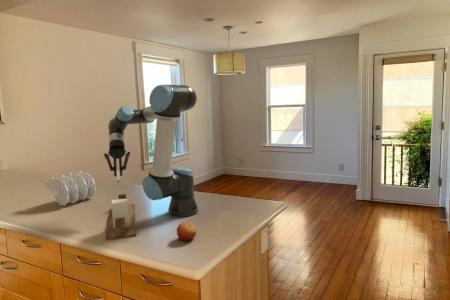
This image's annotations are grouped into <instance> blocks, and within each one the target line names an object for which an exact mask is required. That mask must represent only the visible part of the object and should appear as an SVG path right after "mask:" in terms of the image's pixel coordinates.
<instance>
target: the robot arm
mask: <svg viewBox="0 0 450 300" xmlns="http://www.w3.org/2000/svg"><path fill="white" fill-rule="evenodd" d="M197 99H198V97H197V93H196V91H195V90H194V89H193V88H192V87H191V86H188V85H186V84H166V83H165V84H158V85H156V86H155V87H154V88H153V89H152V90H151V92H150V94H149V99H148V100H149V106H146V107H144V108H141V109H133V108H132V107H130V106H127V105H122V106H121V107H119V109H118V110H117V111H116V114H115V116H114V118H112V119H110V120H109V121H108V142H109V144H108V145H109V146H108V147H109V150H108V152H107V153H104V154H103V157H104V159H105V160H106V162H107V164H108V168H109V170H110V171H111V172H113V174H114V175H113V176H114V177H115V178H116V183H117V184H120V183H121V177H123V171H126V170H127V167H128V162H129V158H130V157H131V152H130V151H127V150H126V149H125V148H126V147H125V130H126V128H127V127H128V125H137V124H138V125H139V124H151V123H154V121H155V120H156V124H155V137H154V138H155V139H154V147H153V158H152V167H151V168H150V169H149V170H148V176H145V177H144V178H143V179H142V189H143V192H144V194H145V195H146V197H147V198H148V199H149V200H151V201H157V200H159V201H160V200H162V199H165V198H169V197H170V202H169V205H168V210H167V211H168V215H169V216H172V217H178V218H181V217H182V218H183V217H189V216H194V215H196V214H198V213H199V207H198V203H197V200H196V199H195V187H194V186H195V185H194V173H193V172H194V171H193V170H192V168H187V167H172V164H173V163H172V162H173V154H174V144H175V143H174V142H175V135H176V126H177V120H178V119H179V118H181V114H182V112H185V111H190V110H192V109H194V107H195V105H196V104H197V101H198V100H197ZM124 156H125V157H124ZM110 157H111V158H112V159H113V165H112V162H111V159H110ZM123 158H124V162H122V161H123ZM117 159H118V163H117ZM117 164H119V165H118V166H119V168H118V166H117Z"/></svg>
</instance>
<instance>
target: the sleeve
mask: <svg viewBox="0 0 450 300" xmlns="http://www.w3.org/2000/svg"><path fill="white" fill-rule="evenodd" d="M128 202H129V201H128V198H126V199H119V198H118V199H112V200H111V203H110V205H111V208H112V218H113V230H116V228H115V219H117V218H123V217H125V225H126V228H129V213H128V205H129V203H128Z"/></svg>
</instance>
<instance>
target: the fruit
mask: <svg viewBox="0 0 450 300" xmlns="http://www.w3.org/2000/svg"><path fill="white" fill-rule="evenodd" d="M176 235H177V237H178V239H177V241H179V240H181V241H183V242H189V241H192V240H193V238H195V237H196V235H197V229H196V227H195V225H194V224H193V223H190V222H189V221H188V222H187V221H183V222H181V223H180V224H178V226H177V228H176Z"/></svg>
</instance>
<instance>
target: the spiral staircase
mask: <svg viewBox="0 0 450 300" xmlns="http://www.w3.org/2000/svg"><path fill="white" fill-rule="evenodd" d="M44 186H45V187H46V188H47V189H48V190H50V191H51V193H52V195H53V196H54V198H55V203H57V204H59V206H64V207H66V206H67V204H68V203H69V204H70V203H71V204H72V205H74V204H75V203H76V202H78V201H81V200H83V201H84V200H85V199H87V198H91V199H92V198H93V197H94V195H96V191H97V187H96V183H95V180H94V179H93V176H92V175H91V174H89V173H87V171H81V170H79V171H78V172H75V173H72V172H70V173H69V174H68V175H64V174H63V175H61V176H57V177H54V176H52V177H51V178H49V179H46V182H45V185H44Z"/></svg>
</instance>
